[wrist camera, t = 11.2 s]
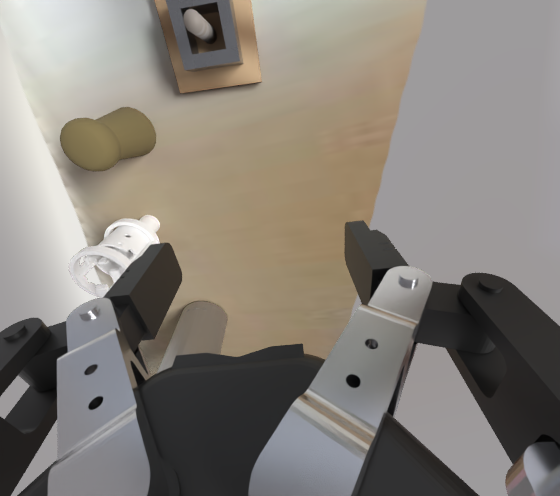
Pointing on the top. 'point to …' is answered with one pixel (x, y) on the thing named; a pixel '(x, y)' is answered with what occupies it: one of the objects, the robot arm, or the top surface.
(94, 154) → the cork
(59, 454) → the robot arm
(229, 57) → the grey hollow square block
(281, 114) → the top surface
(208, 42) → the toggle switch
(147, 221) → the strainer
